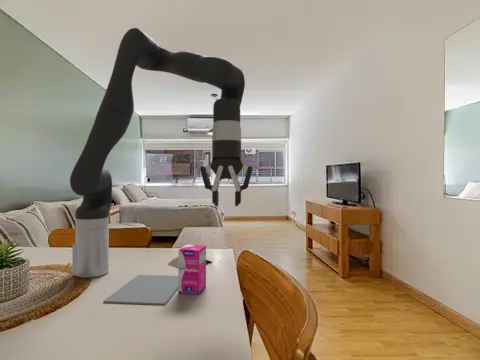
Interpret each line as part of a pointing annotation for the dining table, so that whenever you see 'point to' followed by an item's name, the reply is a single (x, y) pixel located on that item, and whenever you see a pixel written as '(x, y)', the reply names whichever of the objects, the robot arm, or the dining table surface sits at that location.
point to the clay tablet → (176, 262)
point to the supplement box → (192, 269)
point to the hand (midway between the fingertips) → (226, 205)
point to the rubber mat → (146, 290)
